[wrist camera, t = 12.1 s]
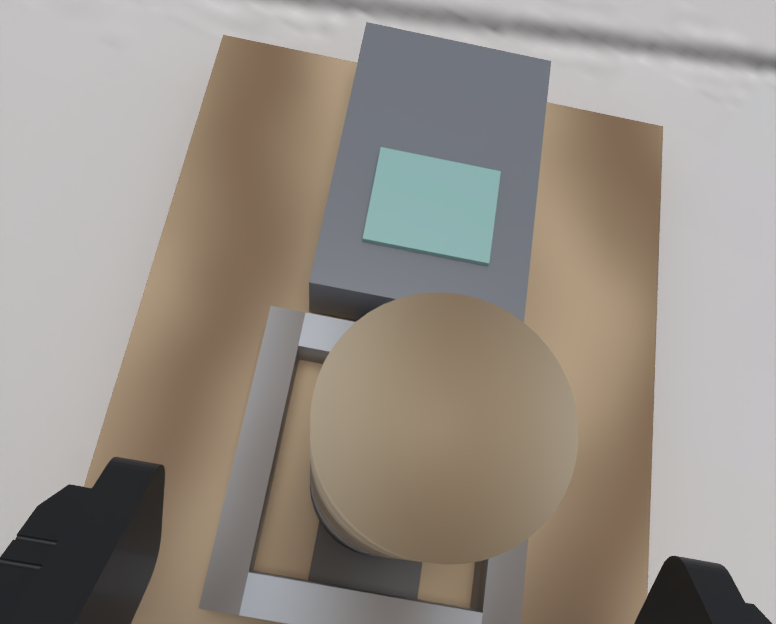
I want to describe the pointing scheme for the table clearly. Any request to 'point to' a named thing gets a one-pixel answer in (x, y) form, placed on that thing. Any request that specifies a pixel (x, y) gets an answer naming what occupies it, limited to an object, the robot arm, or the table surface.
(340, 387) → the tan grey cylinder
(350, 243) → the block
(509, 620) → the board
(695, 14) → the table surface
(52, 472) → the table surface
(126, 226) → the table surface
